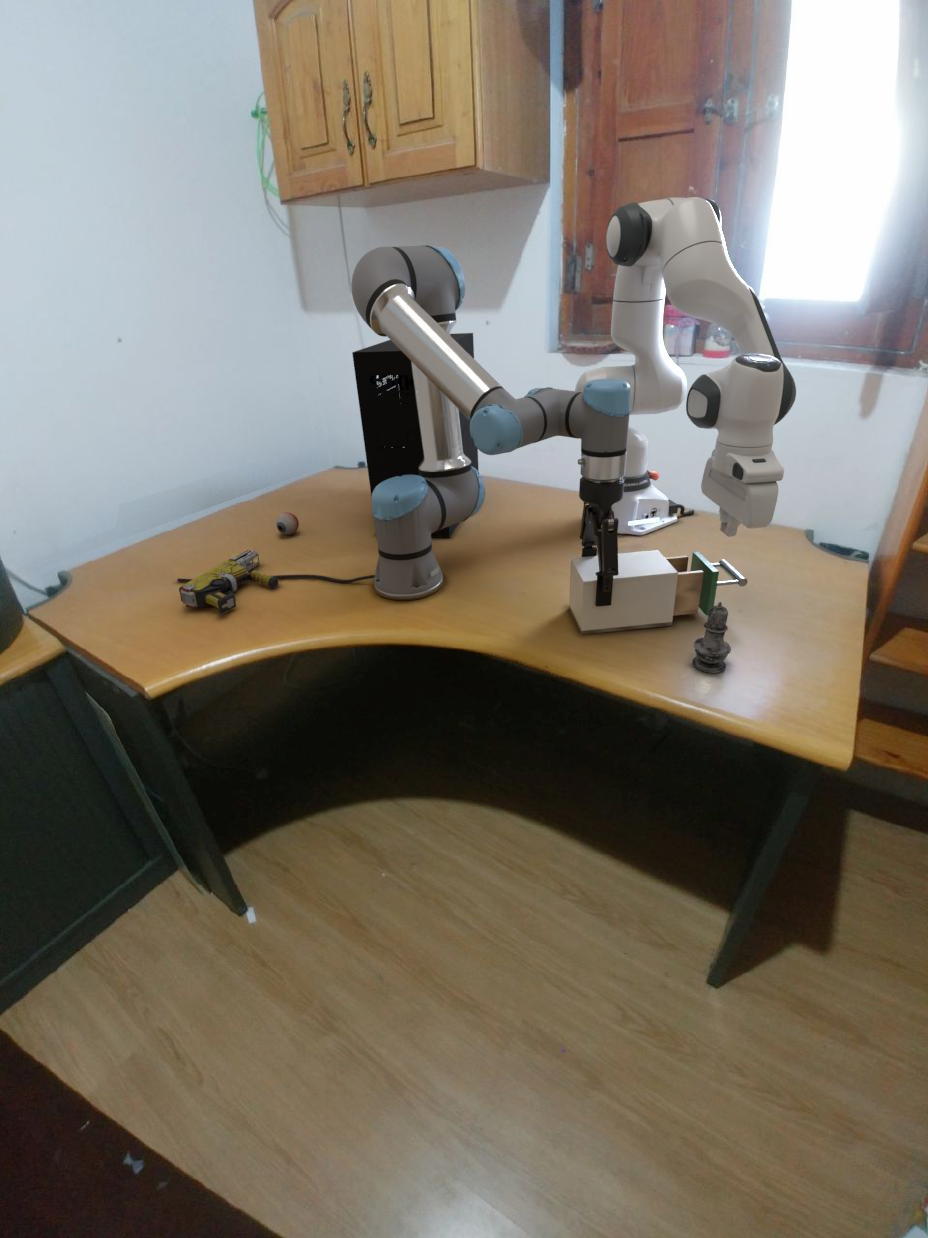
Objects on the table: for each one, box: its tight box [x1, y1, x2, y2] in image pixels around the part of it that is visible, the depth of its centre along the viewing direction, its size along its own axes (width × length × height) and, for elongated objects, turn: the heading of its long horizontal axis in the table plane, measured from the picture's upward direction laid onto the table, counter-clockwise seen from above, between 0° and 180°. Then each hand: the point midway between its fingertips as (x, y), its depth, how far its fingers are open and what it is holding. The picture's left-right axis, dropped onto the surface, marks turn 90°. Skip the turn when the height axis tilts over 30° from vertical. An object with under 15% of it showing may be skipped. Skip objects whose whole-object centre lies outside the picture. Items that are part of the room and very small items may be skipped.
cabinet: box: [568, 549, 678, 635], centre depth 115 cm, size 17×10×11 cm, turn 94°
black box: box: [351, 332, 480, 539], centre depth 164 cm, size 38×20×45 cm, turn 167°
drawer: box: [664, 551, 749, 617], centre depth 115 cm, size 22×9×9 cm, turn 94°
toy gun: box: [178, 549, 279, 615], centre depth 136 cm, size 5×24×15 cm
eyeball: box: [275, 511, 300, 536], centre depth 163 cm, size 6×6×6 cm
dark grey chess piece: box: [692, 601, 732, 674], centre depth 99 cm, size 6×6×12 cm
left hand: (595, 591), depth 114 cm, fingers closed on cabinet, 10 cm apart
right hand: (727, 533), depth 110 cm, fingers closed
